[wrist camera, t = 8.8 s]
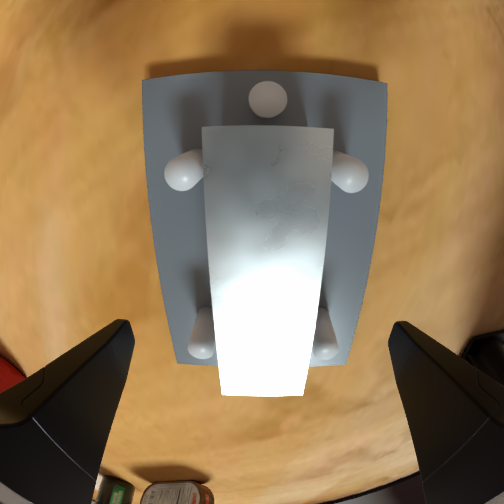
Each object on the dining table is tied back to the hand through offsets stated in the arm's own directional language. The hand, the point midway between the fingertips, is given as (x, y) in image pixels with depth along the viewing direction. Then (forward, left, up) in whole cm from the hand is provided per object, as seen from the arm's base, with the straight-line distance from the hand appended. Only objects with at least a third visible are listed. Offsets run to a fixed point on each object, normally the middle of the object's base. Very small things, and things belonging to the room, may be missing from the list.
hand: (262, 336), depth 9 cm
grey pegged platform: (0, 0, -8) cm, 8 cm away
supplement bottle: (+27, +51, -8) cm, 58 cm away
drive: (0, 0, -7) cm, 7 cm away
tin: (+13, +42, -8) cm, 45 cm away
